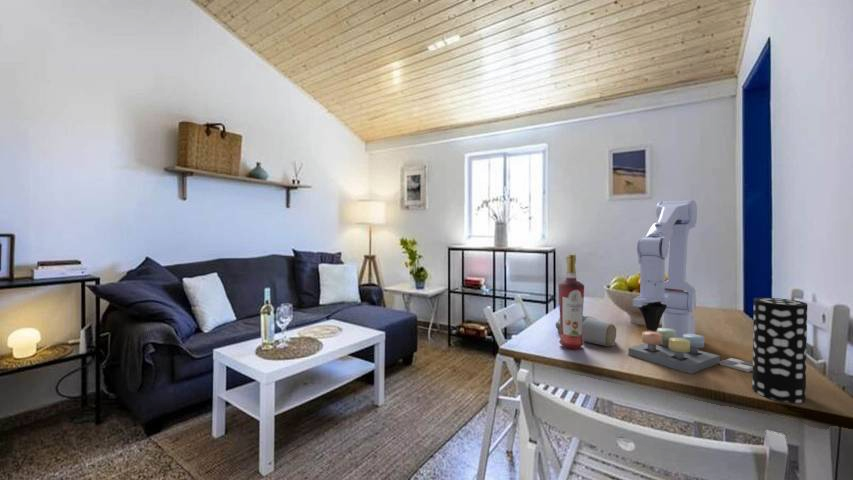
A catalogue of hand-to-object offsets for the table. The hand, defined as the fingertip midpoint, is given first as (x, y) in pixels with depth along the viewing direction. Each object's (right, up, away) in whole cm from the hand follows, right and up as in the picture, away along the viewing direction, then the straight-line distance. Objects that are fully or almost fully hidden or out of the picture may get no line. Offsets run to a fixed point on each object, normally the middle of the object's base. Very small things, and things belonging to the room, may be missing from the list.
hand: (651, 329), depth 103 cm
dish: (-10, -7, +25) cm, 28 cm away
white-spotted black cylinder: (+13, -9, -23) cm, 28 cm away
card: (+18, -8, -7) cm, 21 cm away
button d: (+3, -6, -6) cm, 9 cm away
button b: (+10, -6, -3) cm, 12 cm away
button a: (+6, -6, +4) cm, 9 cm away
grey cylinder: (-8, -8, +14) cm, 18 cm away
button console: (+5, -8, -1) cm, 9 cm away
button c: (0, -6, 0) cm, 6 cm away
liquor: (-18, -8, +10) cm, 22 cm away
